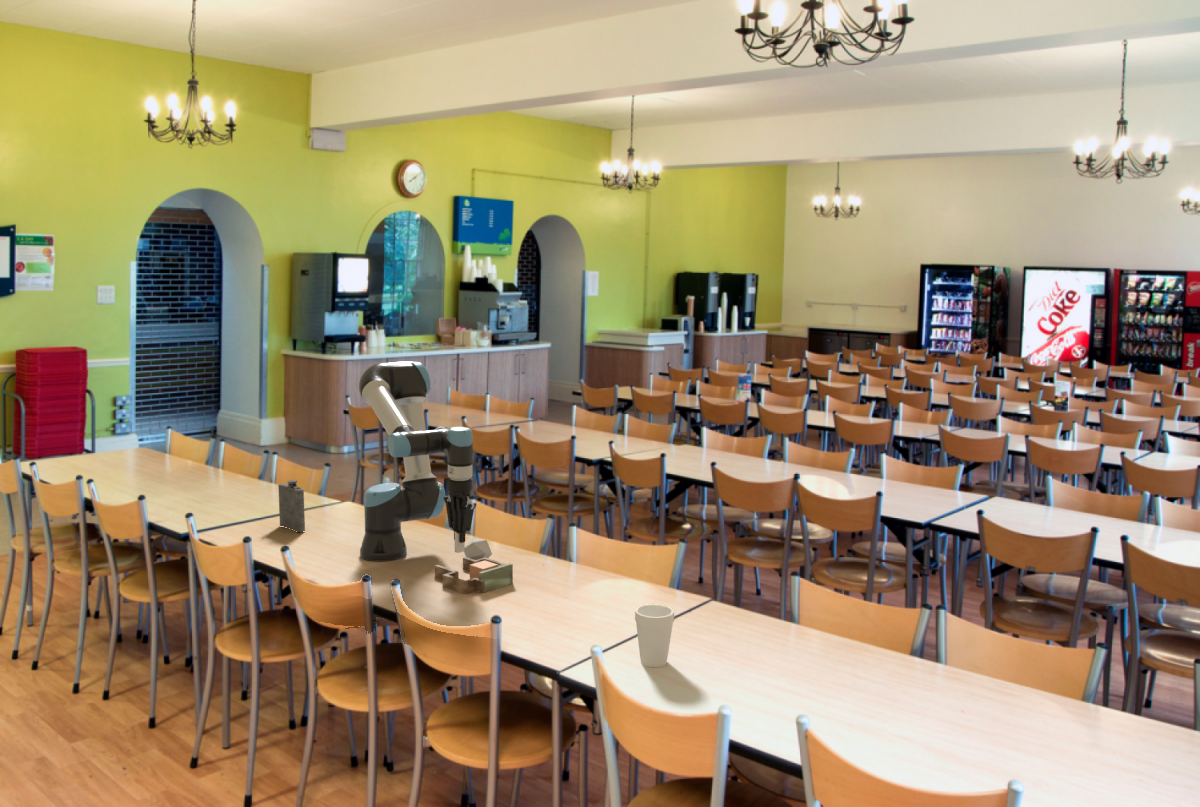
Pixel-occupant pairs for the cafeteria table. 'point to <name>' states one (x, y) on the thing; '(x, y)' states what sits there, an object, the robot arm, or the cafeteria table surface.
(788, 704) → the cafeteria table surface
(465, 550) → the die
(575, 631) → the cafeteria table surface
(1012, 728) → the cafeteria table surface
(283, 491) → the flask
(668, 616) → the foam cup
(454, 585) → the trap lane
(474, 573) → the block
